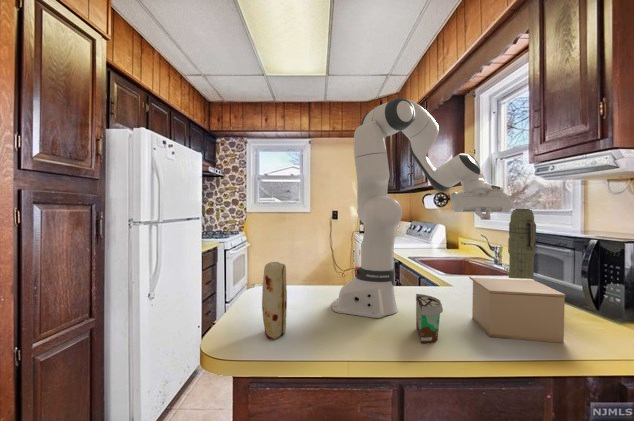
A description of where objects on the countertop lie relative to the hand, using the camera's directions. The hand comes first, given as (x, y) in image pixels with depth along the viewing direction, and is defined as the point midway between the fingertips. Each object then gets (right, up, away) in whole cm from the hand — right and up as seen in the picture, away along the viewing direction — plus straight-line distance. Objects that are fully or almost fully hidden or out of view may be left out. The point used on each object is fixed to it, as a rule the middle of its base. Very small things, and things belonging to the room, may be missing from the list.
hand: (485, 218), depth 109 cm
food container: (-31, -32, -27) cm, 52 cm away
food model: (-73, -31, -27) cm, 84 cm away
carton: (-4, -32, -22) cm, 39 cm away
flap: (-4, -19, -21) cm, 29 cm away
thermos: (+19, -32, +9) cm, 38 cm away
